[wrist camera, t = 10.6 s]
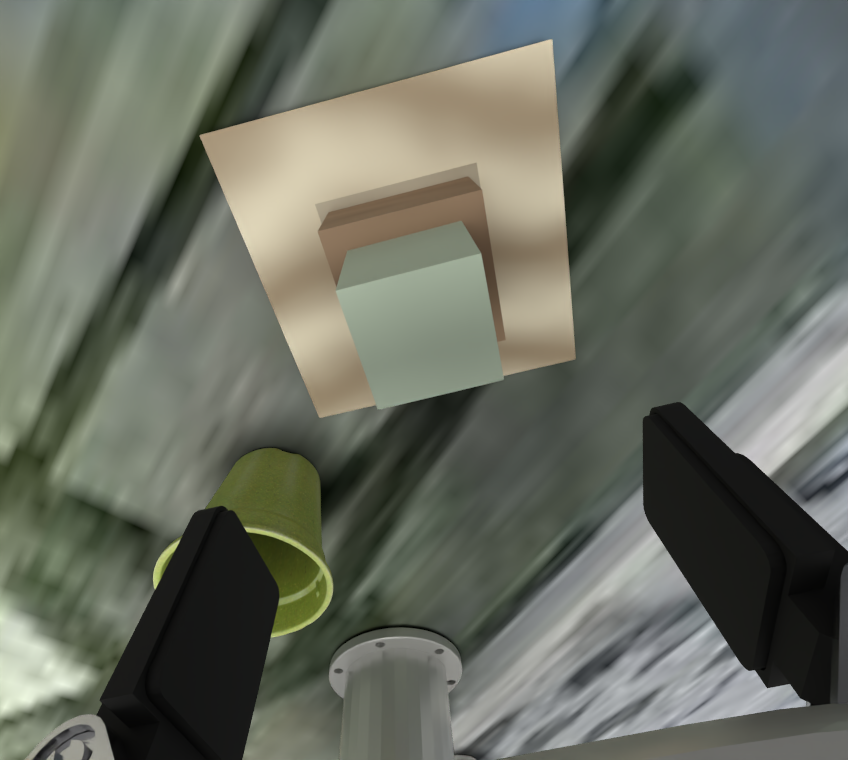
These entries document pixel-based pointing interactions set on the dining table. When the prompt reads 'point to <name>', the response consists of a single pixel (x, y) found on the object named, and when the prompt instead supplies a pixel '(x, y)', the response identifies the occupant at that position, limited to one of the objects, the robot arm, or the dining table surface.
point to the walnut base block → (413, 226)
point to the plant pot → (278, 530)
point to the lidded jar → (463, 757)
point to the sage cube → (420, 315)
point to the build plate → (399, 173)
